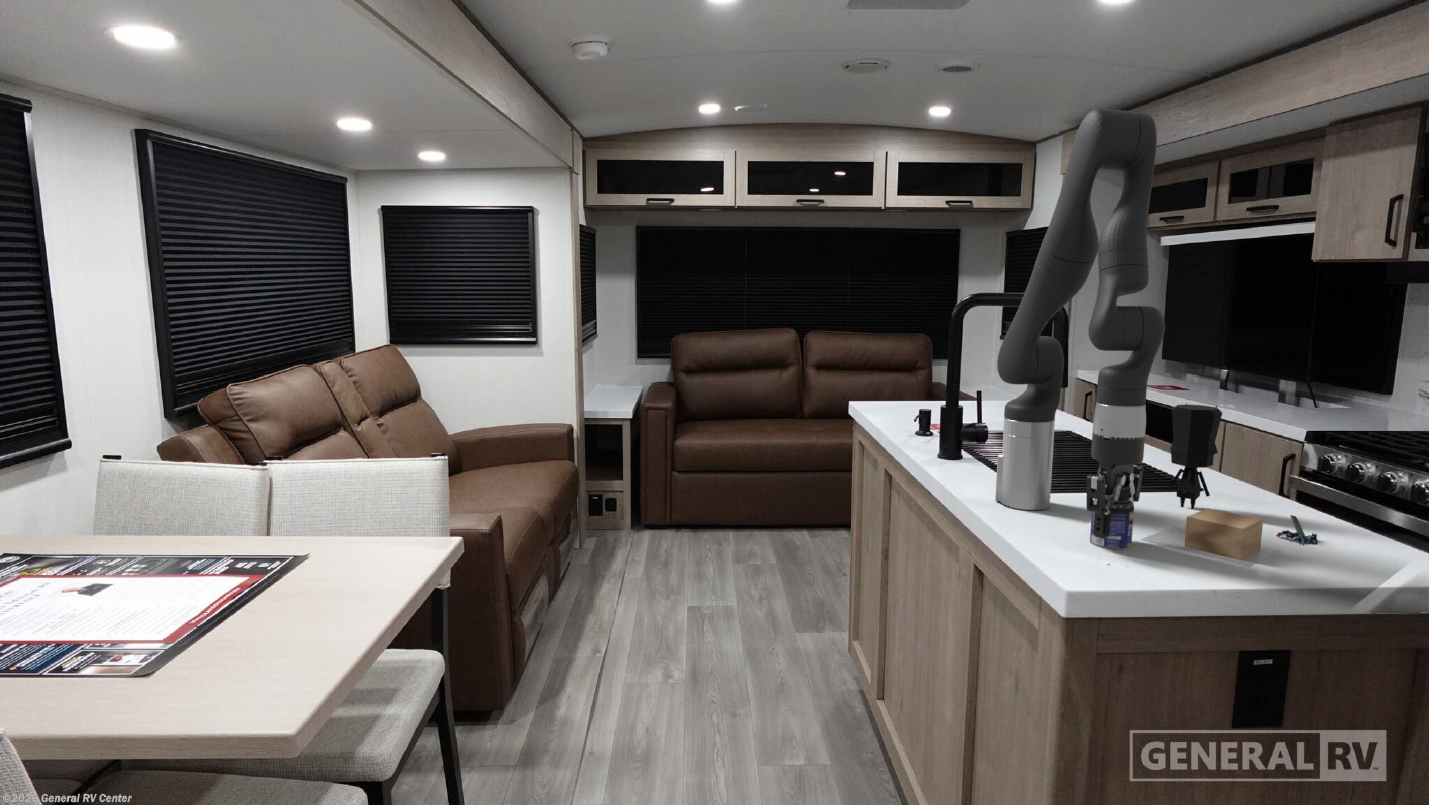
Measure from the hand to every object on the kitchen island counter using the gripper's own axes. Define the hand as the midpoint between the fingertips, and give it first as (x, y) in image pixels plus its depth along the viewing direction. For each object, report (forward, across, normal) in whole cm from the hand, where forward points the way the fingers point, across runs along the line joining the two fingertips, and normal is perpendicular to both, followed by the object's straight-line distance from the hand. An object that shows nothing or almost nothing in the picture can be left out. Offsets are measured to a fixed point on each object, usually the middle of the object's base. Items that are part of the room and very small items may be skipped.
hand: (1111, 532), depth 129 cm
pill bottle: (+3, 0, 0) cm, 3 cm away
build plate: (+3, -12, +10) cm, 16 cm away
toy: (+3, -36, -3) cm, 36 cm away
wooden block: (+2, -12, +12) cm, 17 cm away
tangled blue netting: (+4, -27, +18) cm, 32 cm away
